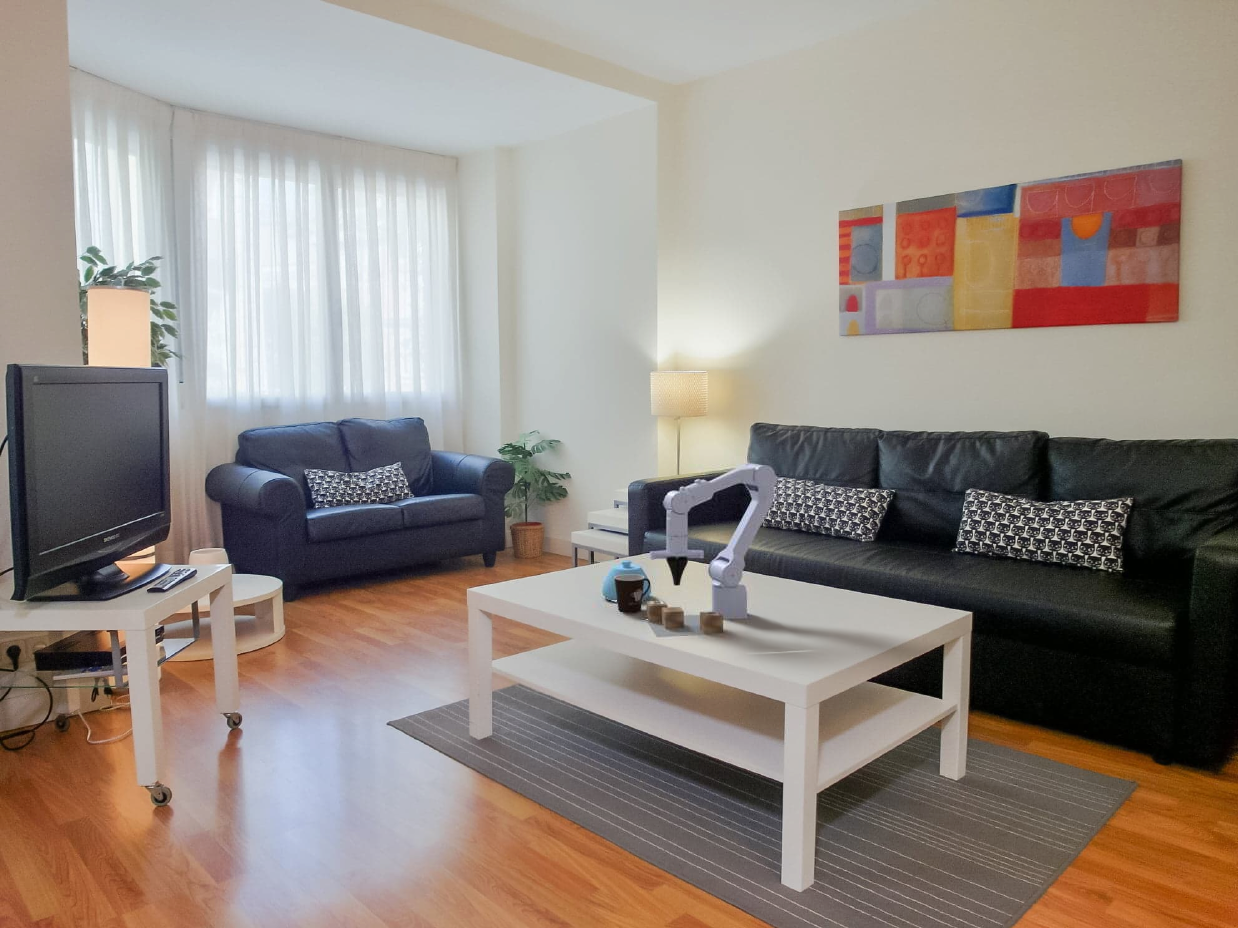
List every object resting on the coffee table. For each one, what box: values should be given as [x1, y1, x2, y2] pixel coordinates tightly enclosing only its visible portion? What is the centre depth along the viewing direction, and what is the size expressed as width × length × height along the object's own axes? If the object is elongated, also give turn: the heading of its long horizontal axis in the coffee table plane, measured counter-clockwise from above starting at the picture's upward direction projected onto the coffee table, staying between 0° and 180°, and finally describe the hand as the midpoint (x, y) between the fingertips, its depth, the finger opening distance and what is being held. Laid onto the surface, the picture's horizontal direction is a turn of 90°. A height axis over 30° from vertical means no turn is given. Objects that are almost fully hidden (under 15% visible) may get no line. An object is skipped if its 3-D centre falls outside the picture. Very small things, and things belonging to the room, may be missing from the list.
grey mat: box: [644, 614, 726, 638], centre depth 237 cm, size 18×20×1 cm
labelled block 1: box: [645, 600, 669, 622], centre depth 243 cm, size 5×5×5 cm
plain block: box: [662, 606, 685, 629], centre depth 236 cm, size 5×5×4 cm
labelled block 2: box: [699, 611, 724, 635], centre depth 231 cm, size 5×5×5 cm
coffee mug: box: [614, 574, 651, 614], centre depth 254 cm, size 12×9×10 cm
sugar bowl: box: [601, 560, 652, 601], centre depth 270 cm, size 15×15×12 cm
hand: (676, 584), depth 242 cm, fingers closed
